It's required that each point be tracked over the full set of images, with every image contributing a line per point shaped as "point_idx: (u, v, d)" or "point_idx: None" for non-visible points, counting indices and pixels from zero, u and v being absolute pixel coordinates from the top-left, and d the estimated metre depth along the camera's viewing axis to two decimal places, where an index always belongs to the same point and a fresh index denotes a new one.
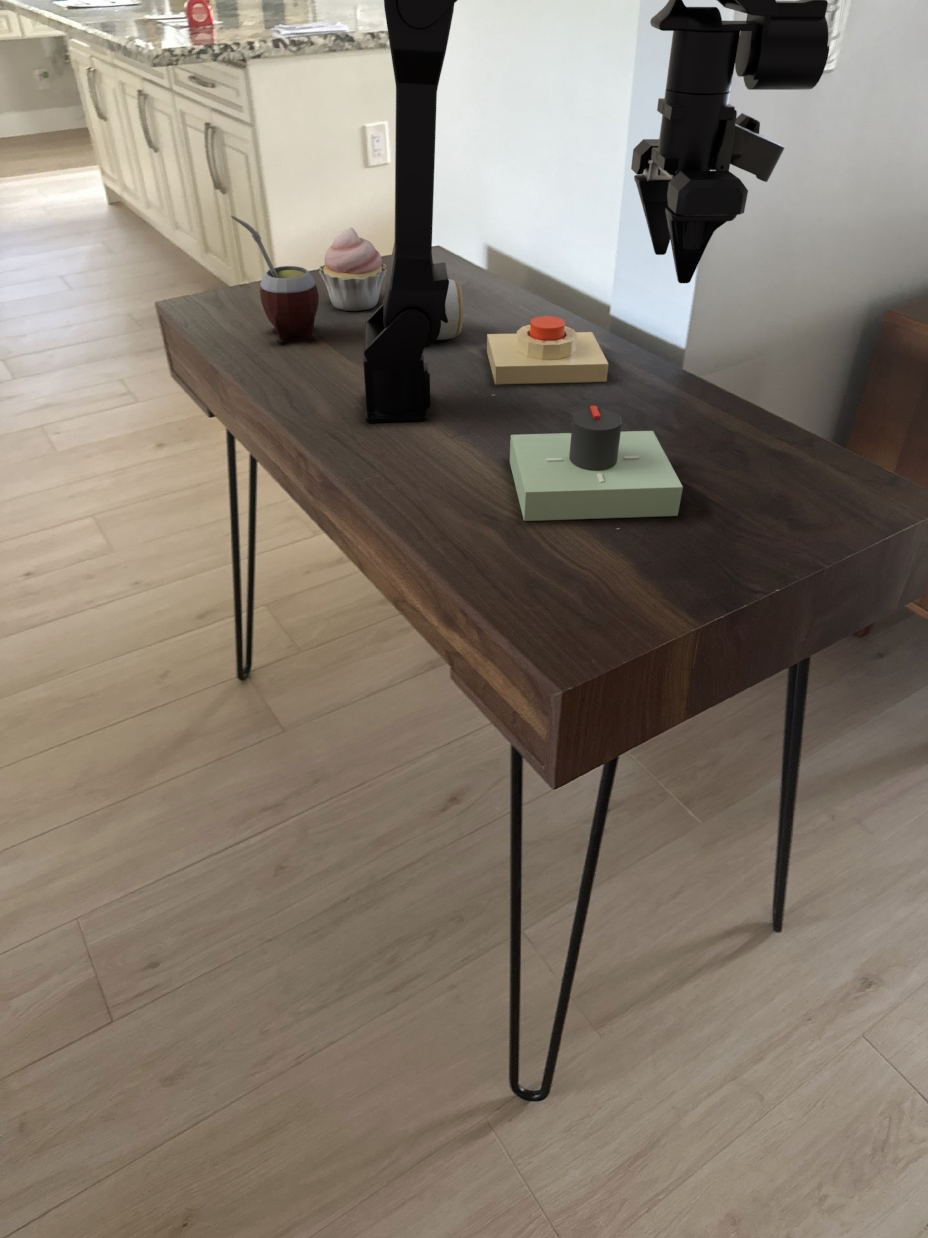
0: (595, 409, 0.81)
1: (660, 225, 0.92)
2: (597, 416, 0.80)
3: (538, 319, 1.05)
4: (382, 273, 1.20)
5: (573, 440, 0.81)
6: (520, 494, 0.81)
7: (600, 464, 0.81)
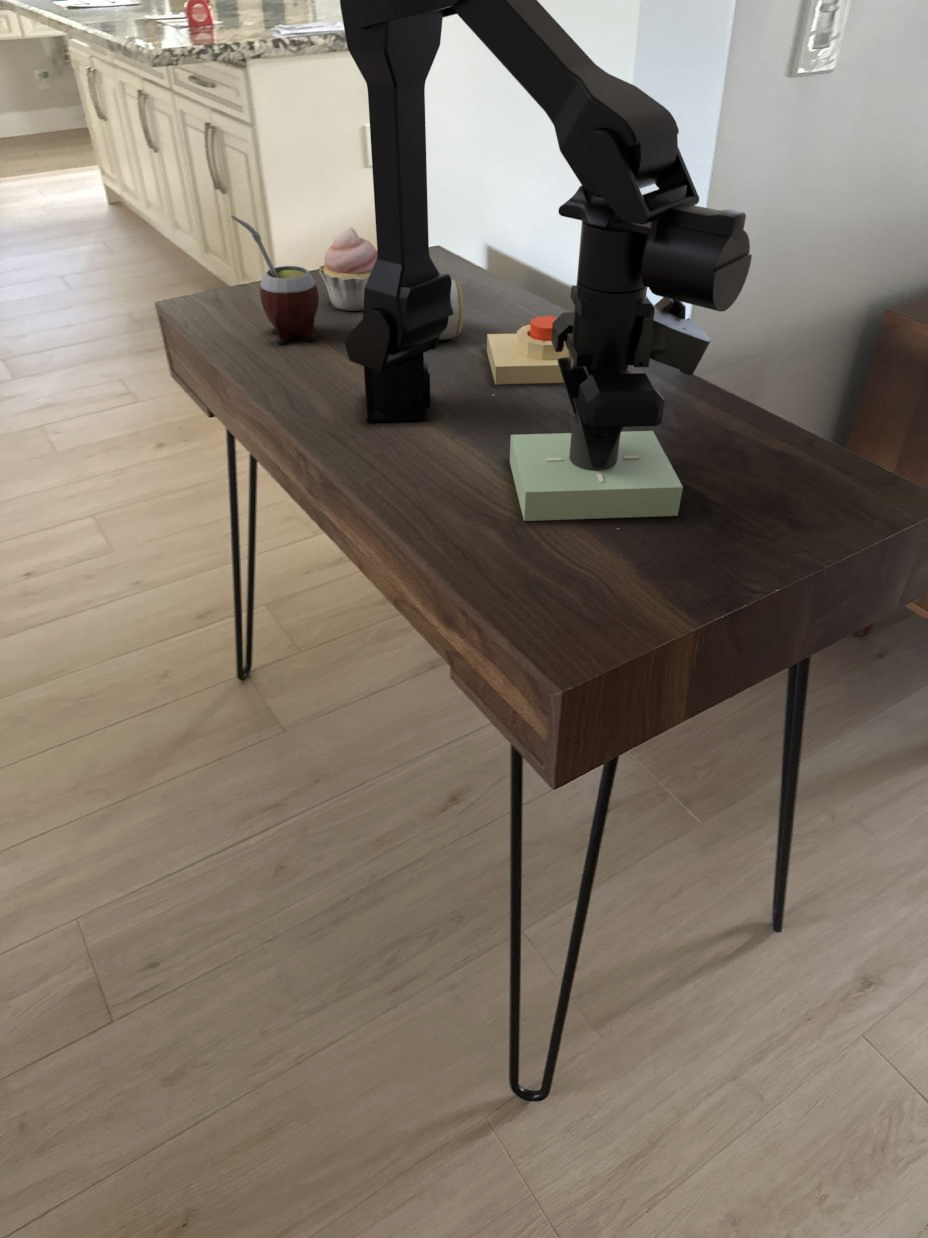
0: None
1: None
2: None
3: (538, 319, 1.05)
4: None
5: (573, 440, 0.81)
6: (520, 494, 0.81)
7: None
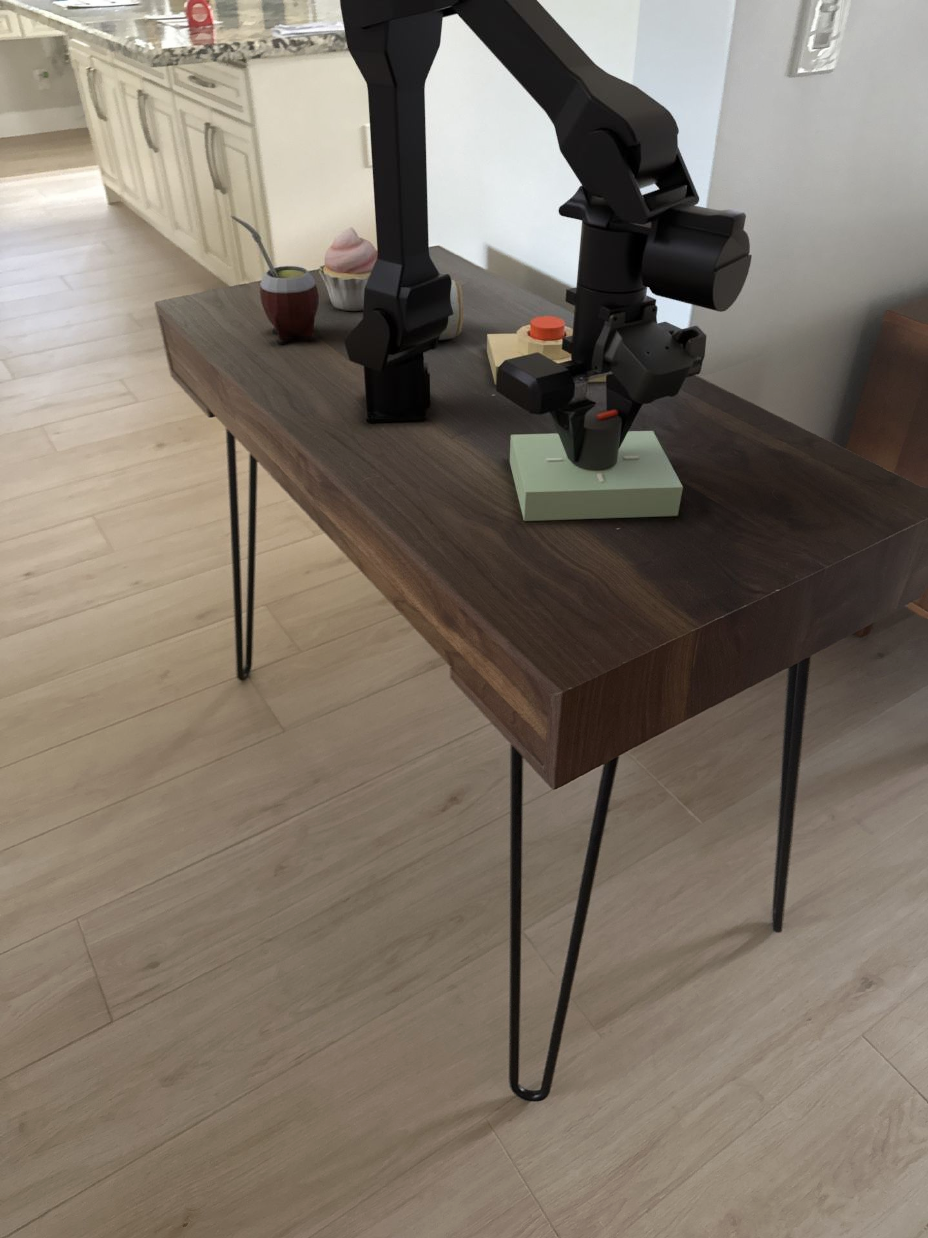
0: (609, 412, 0.81)
1: None
2: (597, 415, 0.80)
3: (538, 319, 1.05)
4: None
5: None
6: (520, 494, 0.81)
7: None
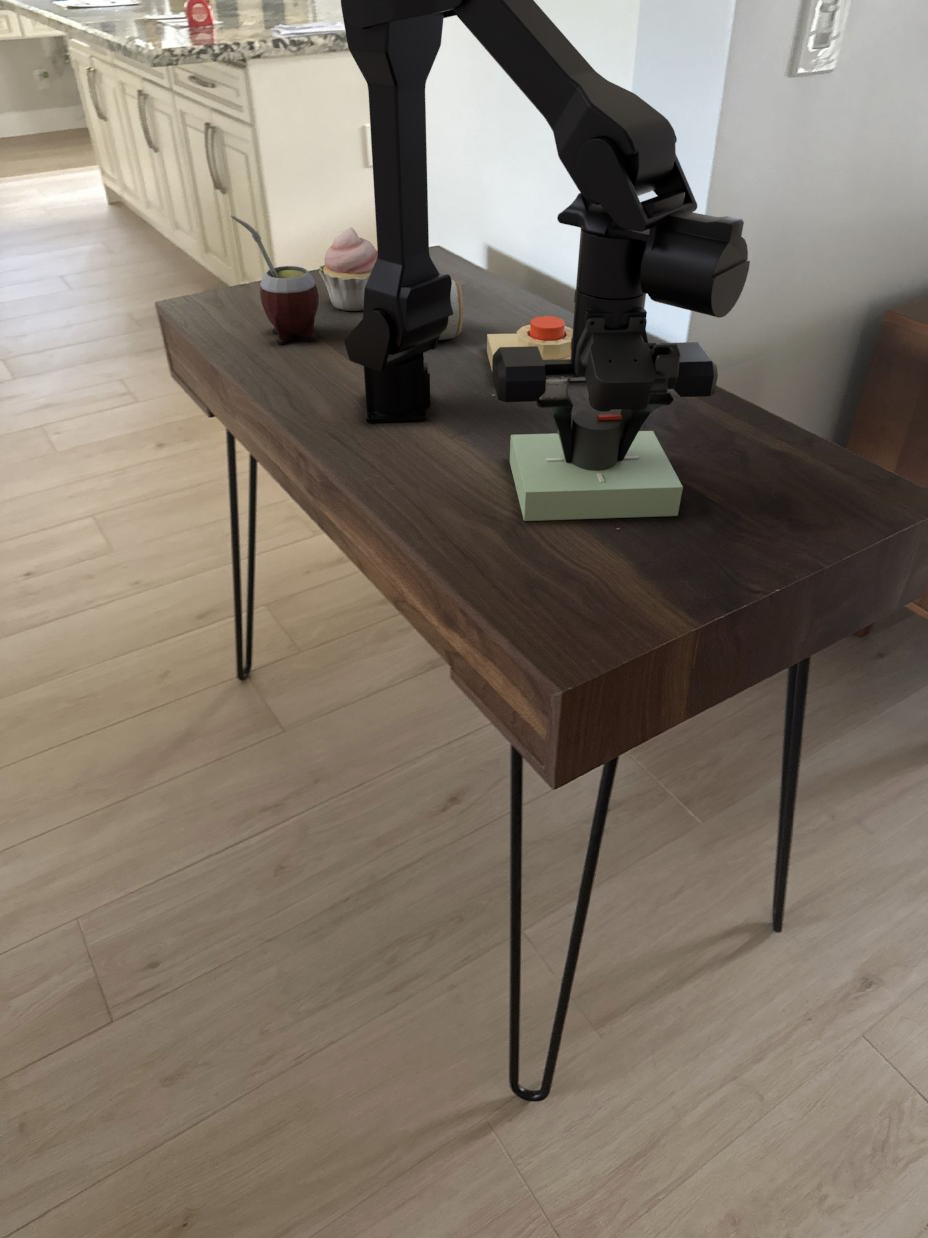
0: (612, 415, 0.80)
1: (621, 428, 0.82)
2: (598, 416, 0.80)
3: (538, 319, 1.05)
4: None
5: None
6: (520, 494, 0.81)
7: None
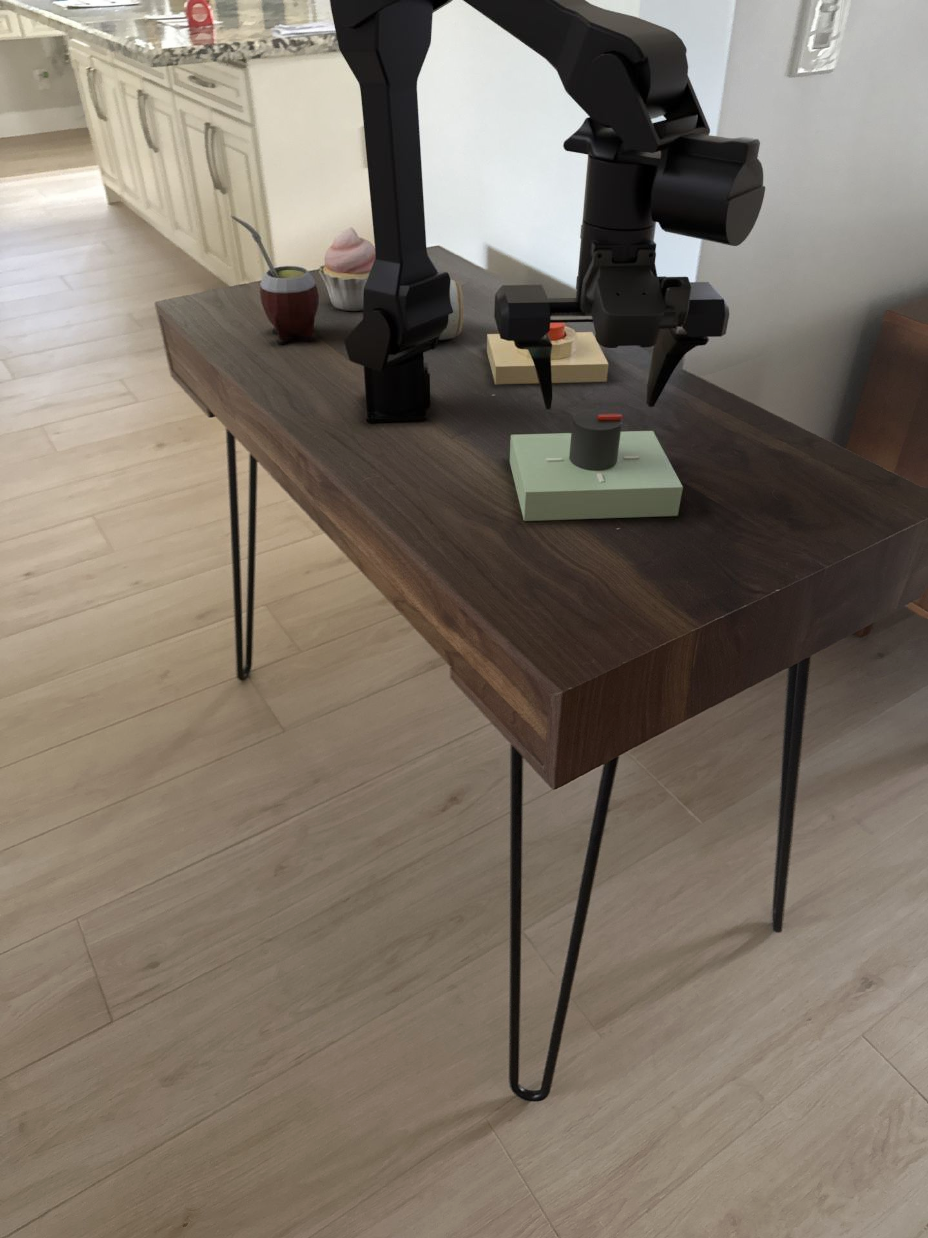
0: (612, 415, 0.80)
1: (652, 372, 0.79)
2: (598, 416, 0.80)
3: None
4: None
5: None
6: (520, 494, 0.81)
7: (570, 454, 0.82)
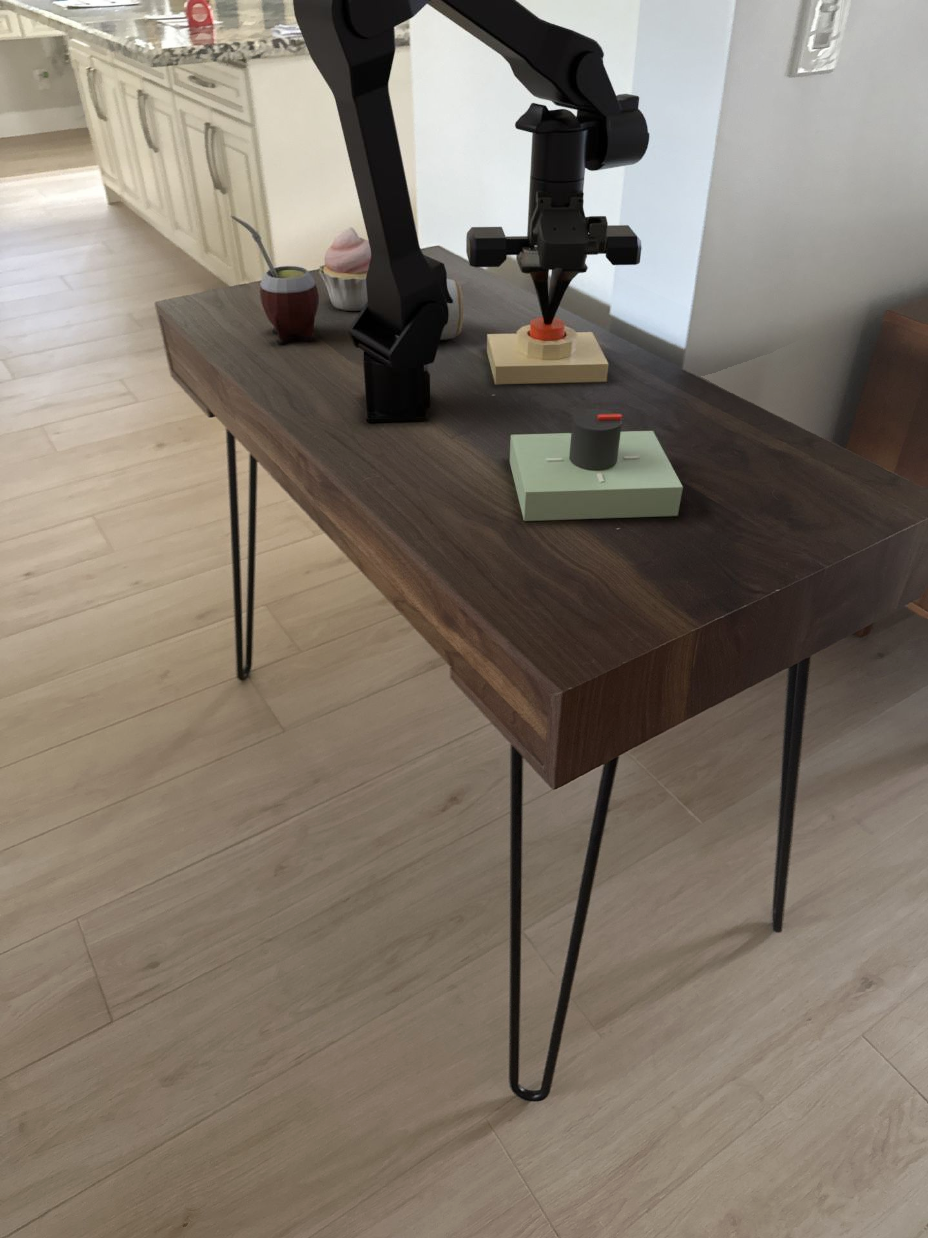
0: (612, 415, 0.80)
1: (550, 296, 1.03)
2: (598, 416, 0.80)
3: (538, 319, 1.05)
4: None
5: None
6: (520, 494, 0.81)
7: (570, 454, 0.82)
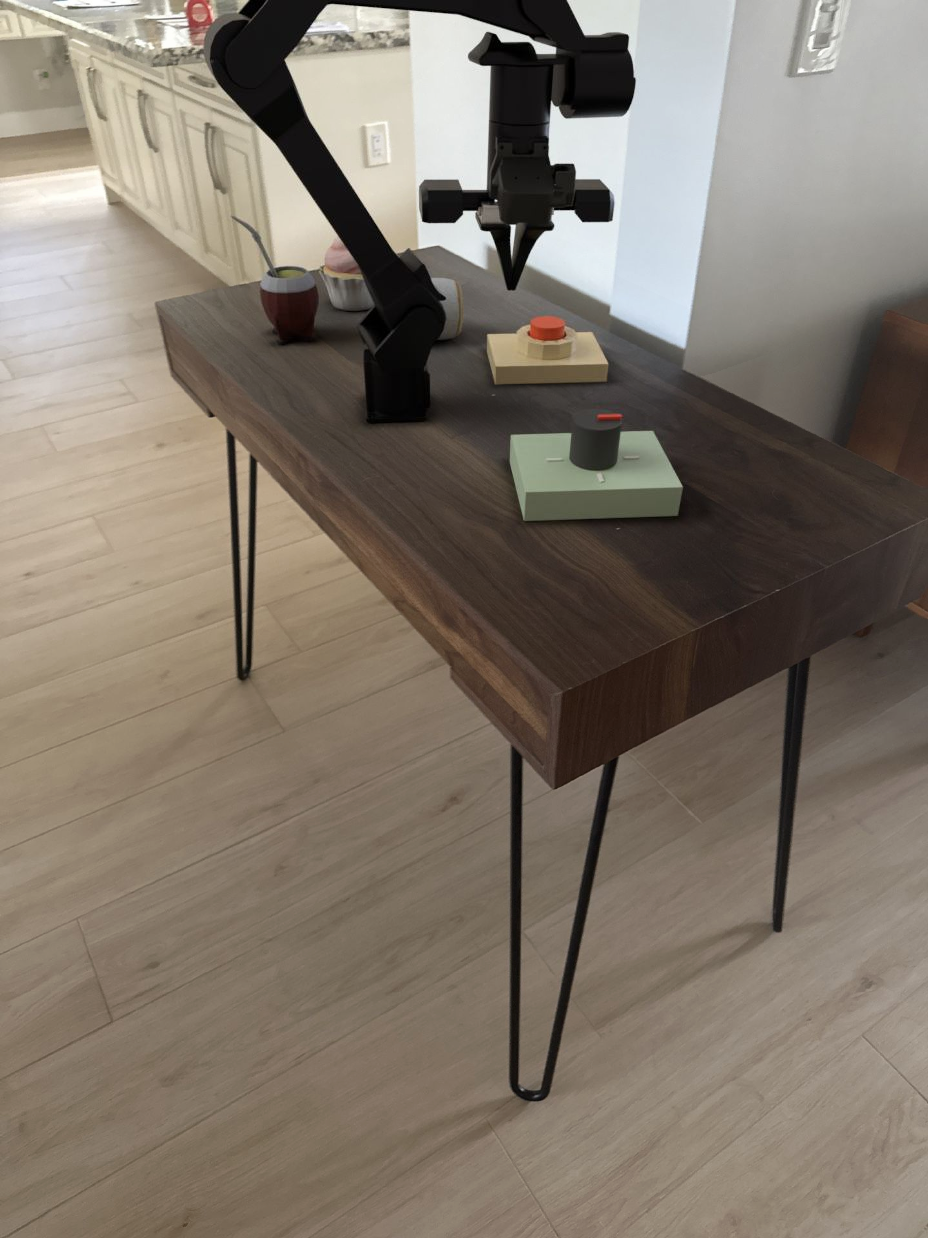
0: (612, 415, 0.80)
1: (513, 259, 0.92)
2: (598, 416, 0.80)
3: (538, 319, 1.05)
4: None
5: None
6: (520, 494, 0.81)
7: (570, 454, 0.82)
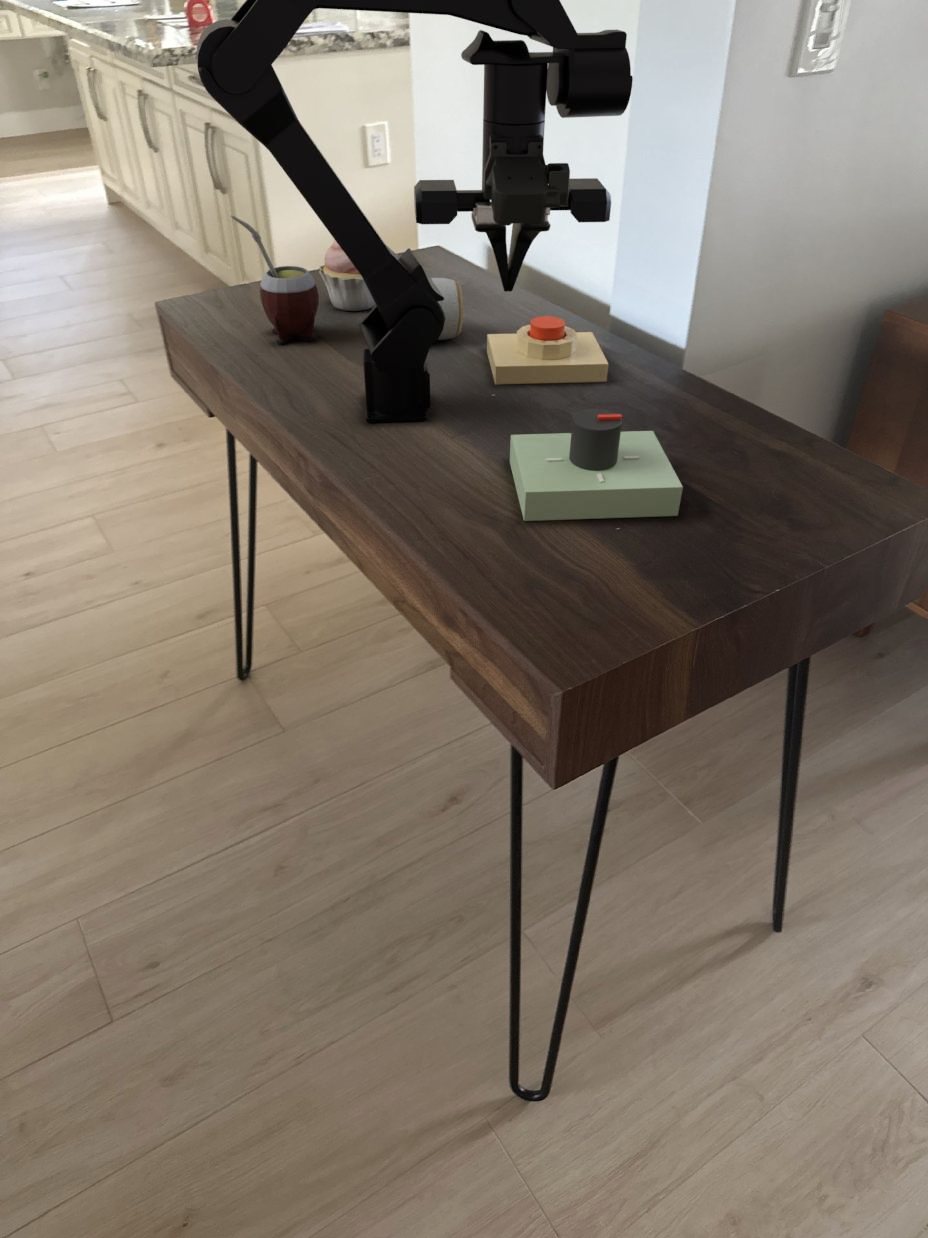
0: (612, 415, 0.80)
1: (509, 260, 0.91)
2: (598, 416, 0.80)
3: (538, 319, 1.05)
4: None
5: None
6: (520, 494, 0.81)
7: (570, 454, 0.82)
